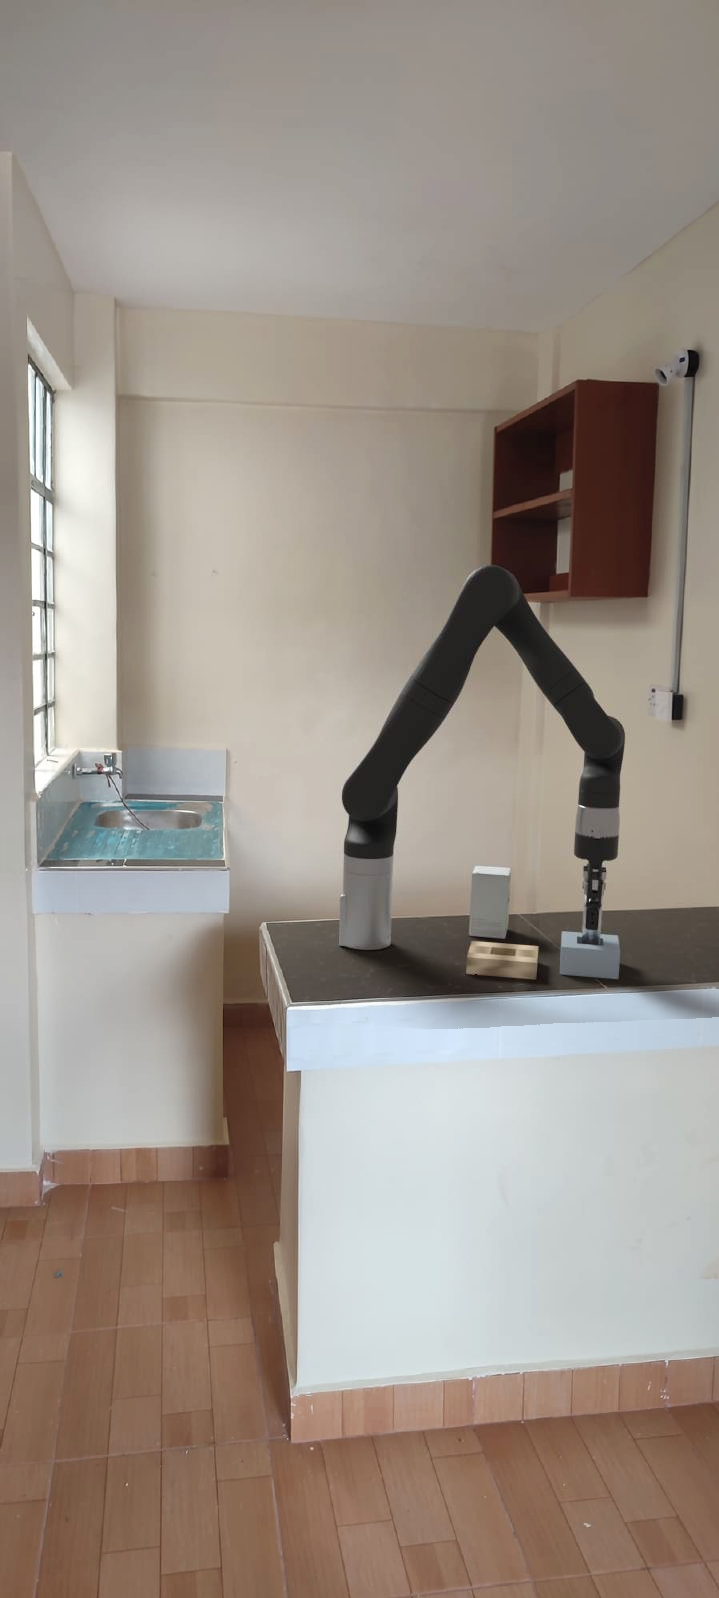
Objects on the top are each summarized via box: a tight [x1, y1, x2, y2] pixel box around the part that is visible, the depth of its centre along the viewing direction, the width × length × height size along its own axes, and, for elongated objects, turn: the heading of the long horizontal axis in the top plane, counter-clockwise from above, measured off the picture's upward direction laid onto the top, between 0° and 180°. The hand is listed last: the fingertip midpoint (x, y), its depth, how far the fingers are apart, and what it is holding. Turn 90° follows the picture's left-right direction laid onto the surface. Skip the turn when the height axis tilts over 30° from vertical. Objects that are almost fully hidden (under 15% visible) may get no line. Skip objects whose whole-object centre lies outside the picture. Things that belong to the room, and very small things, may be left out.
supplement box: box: [468, 865, 512, 940], centre depth 222 cm, size 7×7×13 cm
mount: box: [465, 940, 539, 981], centre depth 201 cm, size 12×10×3 cm
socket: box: [559, 930, 621, 980], centre depth 202 cm, size 10×10×5 cm
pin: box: [581, 880, 607, 945], centre depth 200 cm, size 4×4×12 cm
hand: (591, 926), depth 201 cm, fingers closed on pin, 3 cm apart
